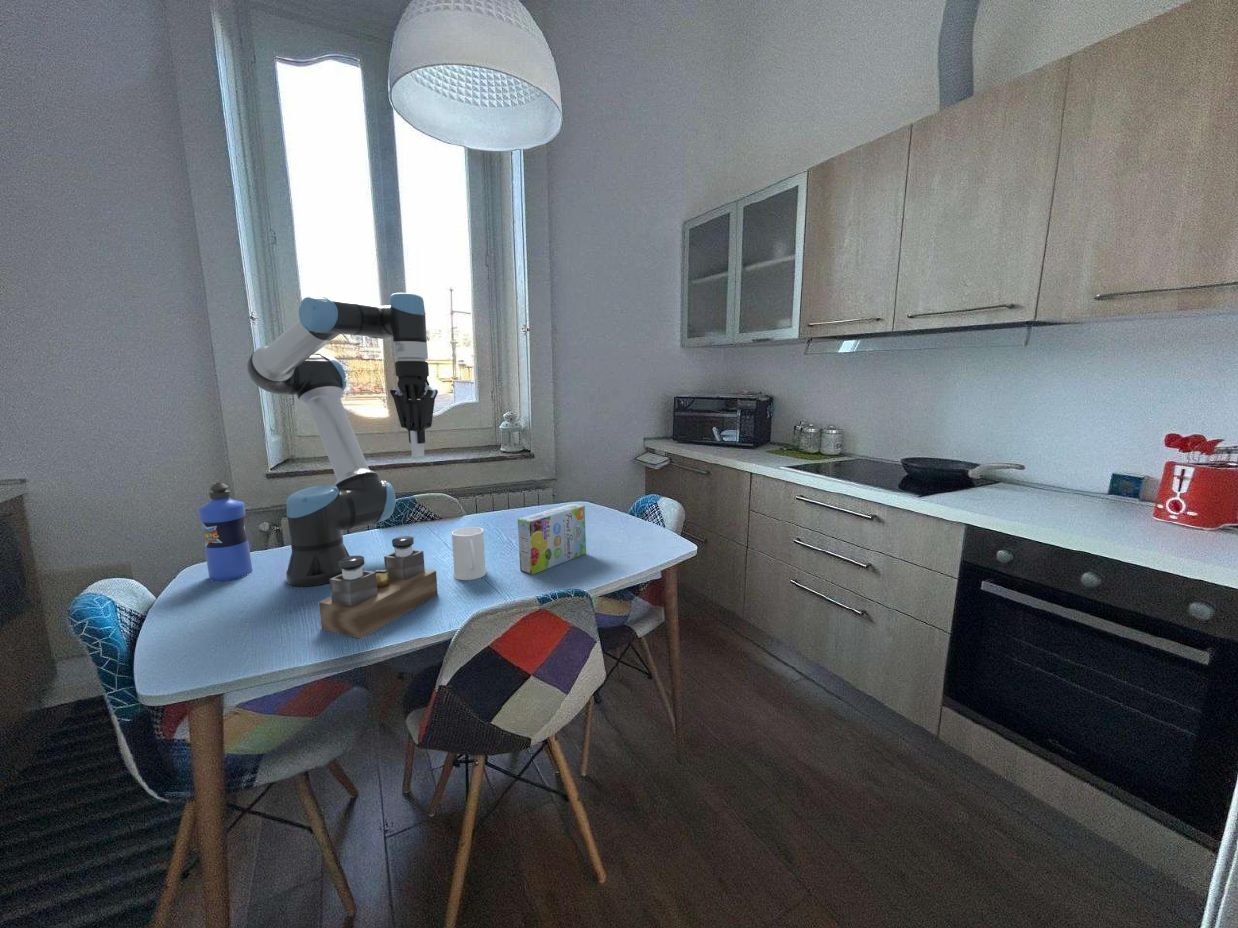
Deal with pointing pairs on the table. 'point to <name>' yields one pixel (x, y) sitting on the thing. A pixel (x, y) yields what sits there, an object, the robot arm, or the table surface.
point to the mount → (377, 596)
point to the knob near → (352, 567)
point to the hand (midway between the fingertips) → (418, 456)
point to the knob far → (403, 546)
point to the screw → (382, 578)
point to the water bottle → (225, 535)
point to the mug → (468, 553)
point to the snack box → (551, 537)
